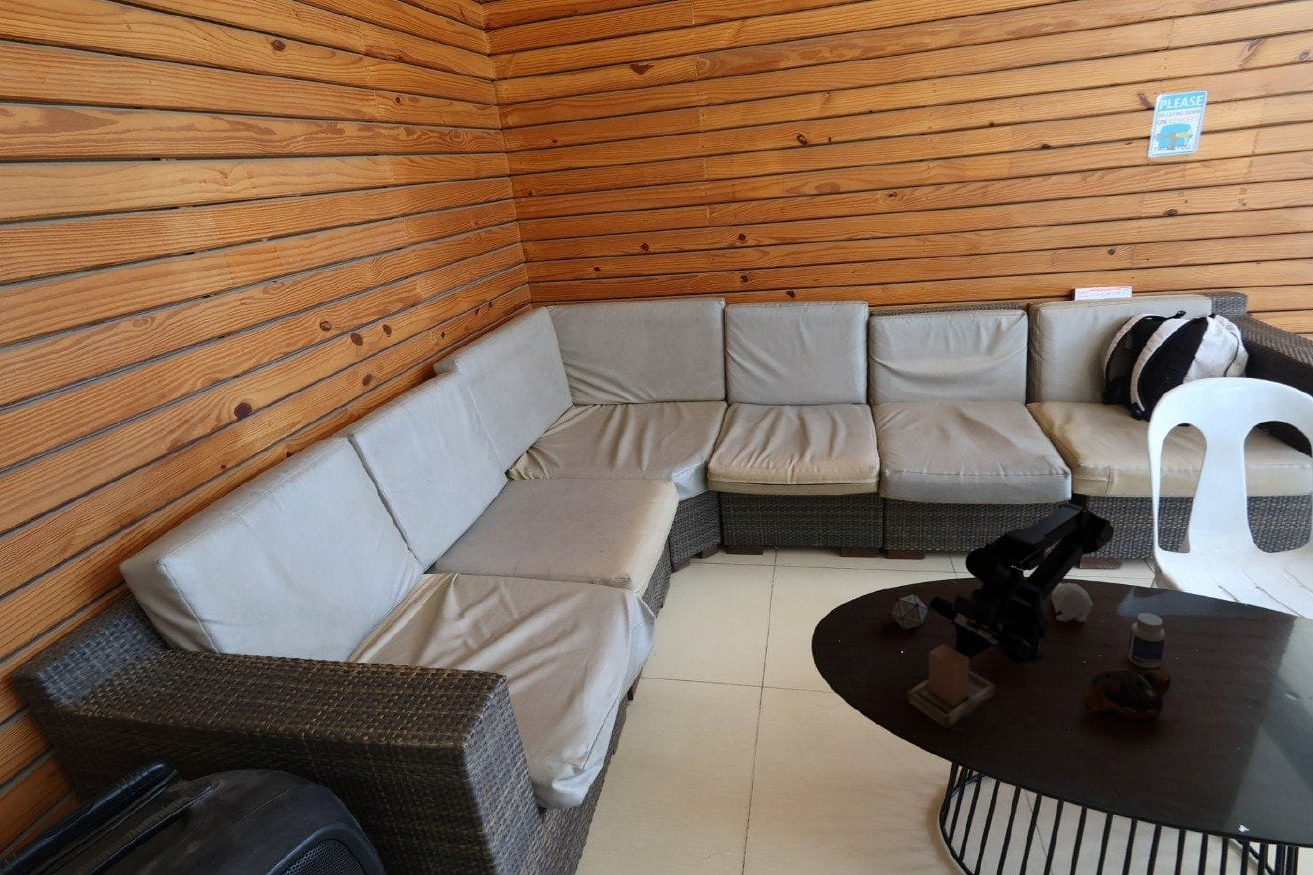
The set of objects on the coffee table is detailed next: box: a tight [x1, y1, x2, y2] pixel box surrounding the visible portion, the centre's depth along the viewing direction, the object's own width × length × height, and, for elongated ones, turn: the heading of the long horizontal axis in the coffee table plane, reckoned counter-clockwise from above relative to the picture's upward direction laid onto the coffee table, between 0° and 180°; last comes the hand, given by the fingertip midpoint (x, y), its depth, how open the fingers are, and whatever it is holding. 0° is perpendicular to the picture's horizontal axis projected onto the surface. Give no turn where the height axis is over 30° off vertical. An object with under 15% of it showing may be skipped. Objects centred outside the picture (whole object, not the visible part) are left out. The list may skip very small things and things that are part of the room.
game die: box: [886, 590, 933, 634], centre depth 150 cm, size 9×8×10 cm
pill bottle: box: [1127, 612, 1166, 669], centre depth 132 cm, size 5×5×10 cm
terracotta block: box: [928, 643, 970, 706], centre depth 128 cm, size 4×6×9 cm
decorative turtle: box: [1082, 668, 1172, 725], centre depth 121 cm, size 10×15×8 cm, turn 100°
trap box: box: [906, 669, 996, 729], centre depth 130 cm, size 14×9×2 cm, turn 121°
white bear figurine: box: [1048, 582, 1093, 623], centre depth 149 cm, size 6×8×12 cm
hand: (956, 664), depth 128 cm, fingers closed, pressing on terracotta block
